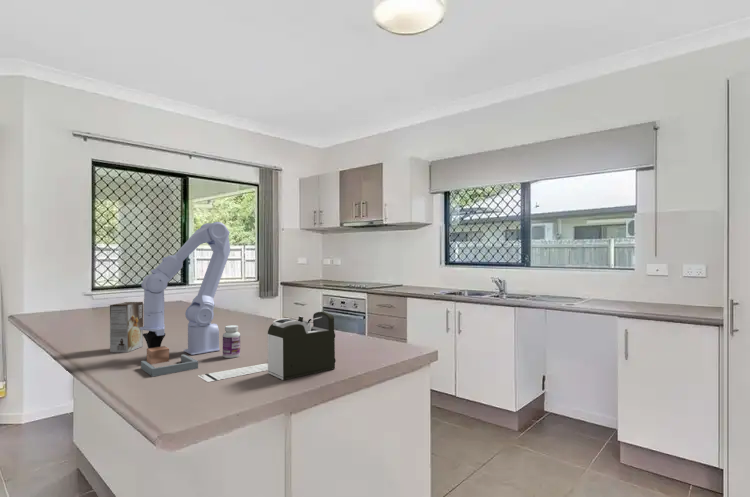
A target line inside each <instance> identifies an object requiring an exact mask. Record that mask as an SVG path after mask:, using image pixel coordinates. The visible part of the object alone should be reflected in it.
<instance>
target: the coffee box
mask: <svg viewBox="0 0 750 497" xmlns="http://www.w3.org/2000/svg"><path fill="white" fill-rule="evenodd" d="M140 327H144V301H125V302H124V301H123V302H120V303H115V304H110V305H109V352H110V353H131V352H132V351H134V350H136V349H137V350H138V349H139V348H142V347H144V336H143V334H144V330H139V328H140Z"/></svg>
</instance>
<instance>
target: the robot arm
mask: <svg viewBox="0 0 750 497" xmlns="http://www.w3.org/2000/svg"><path fill="white" fill-rule="evenodd" d="M229 236H230V231H229V229H228V228H227V226H226V224H224V223H223V222H220V221H214V222H208V223H204V224H202V225H201V226H200V228H198V229H196V230H195V231H194V232H193V234H191V236H190V237H188V239H187V240H186V241H185V243H184V244H183V245H182V246H181V247H180V248H179V249H178V250H177V251H176V252H175V254H171V255H170V254H169V255H167V256H163V257H162V258H161V262H160V263H159V264H158V265H157V266H156V267H155V268H152V269H151V270H150V272H151V274H147V275H146V276H144V277H143V279H142V282H141V283H140V286H141V288H142V289H143V292H144V293H143V294H144V295H143V297H144V298H143V327H140V328H139V330H143V331H148V332H146V333H144V332H143V339H144V340H145V342H146V344H147V348H154V347H161V346H162V343H163V340H164V338H165V337H166V333H165V328H166V325H165V290H166V289H167V287H168V282H170V281H171V280H172V279H173V278H174V277H175V276H176V275H177V274H178V273H179V272H180V270H182V269H183V267H184V265H183V264H184V261H185V260H186V259H187V258H188V257H189V256H190V255H191V254H192V253H193V252H194V251H195V250H196V249H197V248H198V247H200V246H201V245H203V244H208V245H209V247H210V248H211V250H212V255H211V257H210V260H209V263H208V266H207V269H206V271H205V273H204V275H203V276H204V277H203V279H202V282H201V284H200V287H199V290H198V293H197V295H196V296H195V297H194V298H193V299H192V302H191V304H190V305H189V306H188V307H187V308H186V310H185V313H184V314H185V318H186V319H187V321H188V324H187V348H186V349H185V348H184V349H183V352H185V353H187V354H189V355H191V356H192V355H199V354H200V355H201V354H206V353H212V352H217V351H220V350H221V349H220V330H219V326H218V324H217V323H212V321H213V320H214V316H215V314H214V311H215V310H214V308H215V301H214V298H215V295H216V292H217V291H218V290H217V289H218V287H219V284H220V282H221V278H222V276H223V273H224V271H225V267H226V265H227V261H228V259H229V256H230V253H231V246H230V245H231V244H230V238H229Z"/></svg>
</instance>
